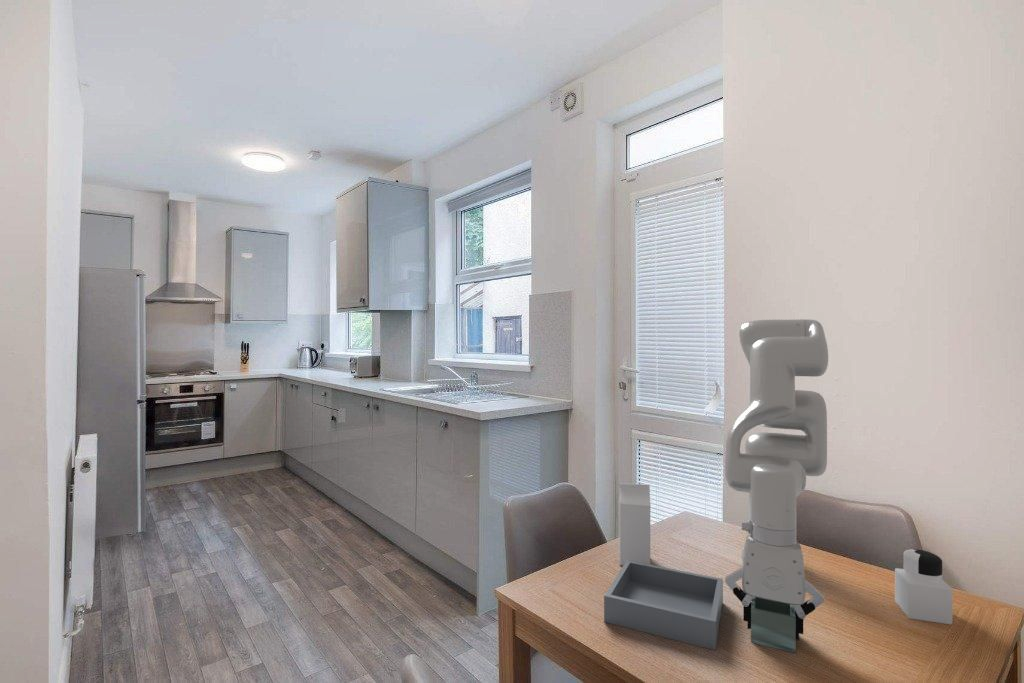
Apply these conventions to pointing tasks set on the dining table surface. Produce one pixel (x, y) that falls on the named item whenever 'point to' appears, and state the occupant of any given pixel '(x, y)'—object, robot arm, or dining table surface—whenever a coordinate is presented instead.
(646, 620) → the charcoal crate
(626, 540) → the milk carton
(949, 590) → the medicine bottle
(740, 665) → the dining table surface
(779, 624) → the teal crate
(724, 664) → the dining table surface
